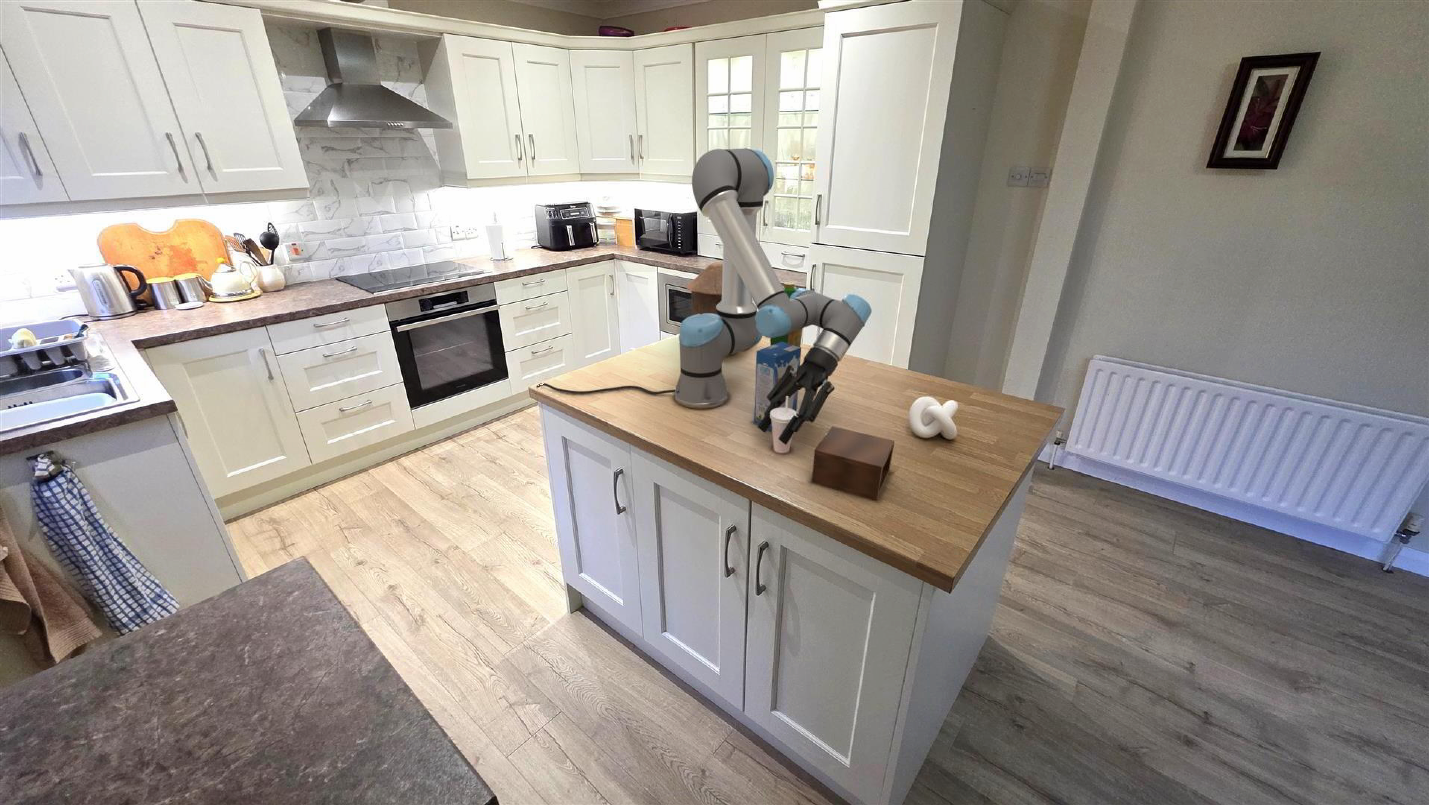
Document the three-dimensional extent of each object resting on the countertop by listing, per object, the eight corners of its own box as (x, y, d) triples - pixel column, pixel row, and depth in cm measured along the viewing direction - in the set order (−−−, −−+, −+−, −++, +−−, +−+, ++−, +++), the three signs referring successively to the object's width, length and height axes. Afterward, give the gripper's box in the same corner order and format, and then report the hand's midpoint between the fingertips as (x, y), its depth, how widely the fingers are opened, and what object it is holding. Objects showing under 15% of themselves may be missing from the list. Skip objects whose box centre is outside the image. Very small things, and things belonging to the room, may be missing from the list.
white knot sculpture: (921, 417, 146) (927, 387, 142) (966, 433, 139) (974, 401, 135) (901, 432, 139) (906, 400, 135) (948, 449, 131) (955, 416, 127)
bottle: (802, 376, 171) (809, 287, 159) (768, 376, 172) (772, 287, 159) (798, 363, 181) (804, 279, 169) (766, 363, 181) (770, 279, 169)
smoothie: (793, 457, 128) (798, 403, 122) (766, 454, 129) (769, 401, 123) (795, 443, 134) (799, 391, 127) (769, 441, 135) (772, 389, 129)
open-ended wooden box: (811, 482, 119) (814, 449, 115) (828, 456, 128) (831, 425, 125) (876, 500, 113) (881, 466, 109) (889, 472, 122) (894, 440, 119)
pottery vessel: (725, 369, 176) (726, 276, 163) (670, 350, 192) (667, 264, 179) (773, 348, 194) (777, 263, 181) (719, 333, 209) (719, 253, 196)
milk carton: (778, 410, 150) (782, 341, 141) (796, 418, 146) (801, 347, 137) (753, 422, 143) (756, 350, 135) (771, 431, 139) (775, 357, 131)
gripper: (864, 375, 125) (809, 459, 123) (802, 351, 139) (752, 426, 137) (851, 358, 120) (793, 446, 118) (788, 335, 133) (736, 413, 131)
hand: (771, 435), depth 127 cm, fingers closed on smoothie, 6 cm apart
